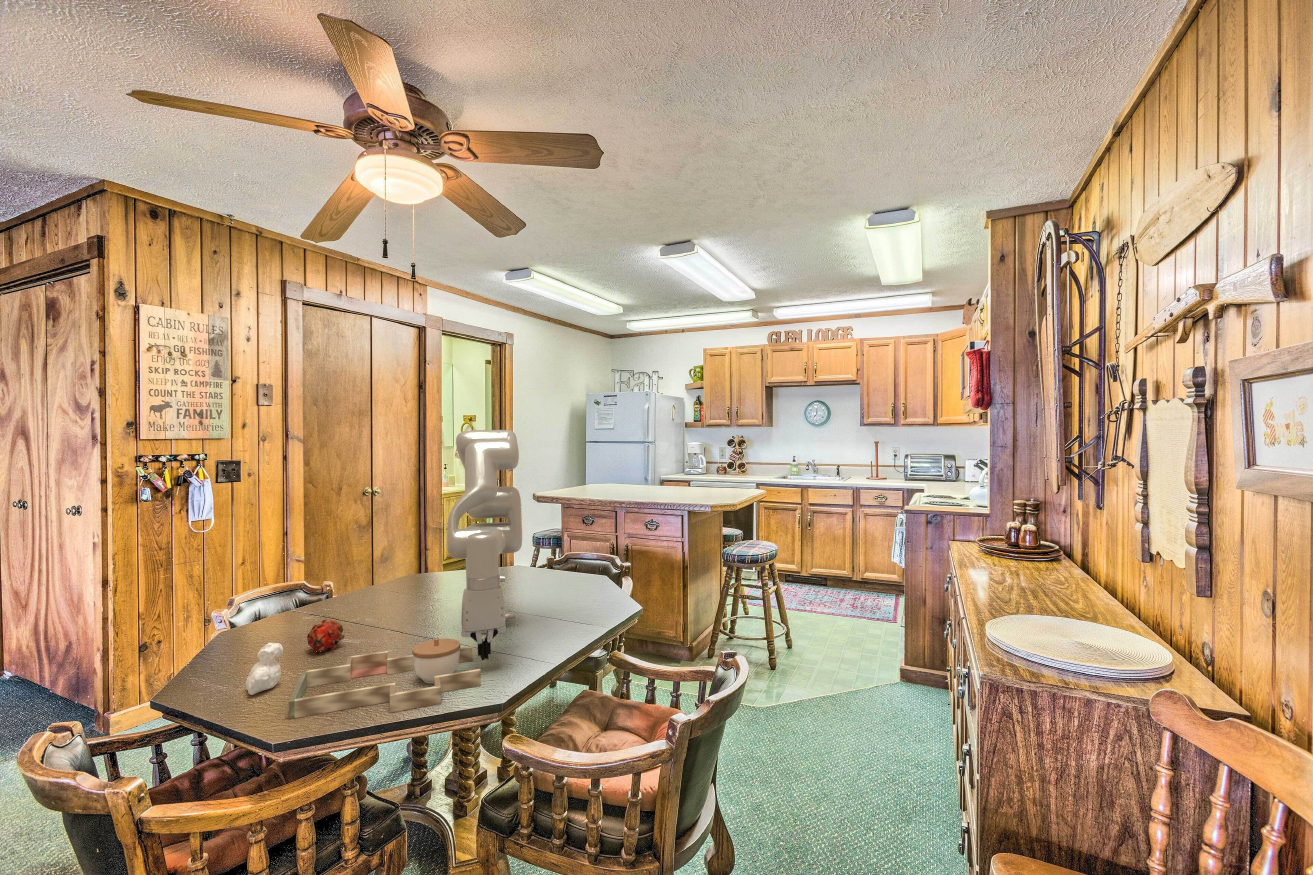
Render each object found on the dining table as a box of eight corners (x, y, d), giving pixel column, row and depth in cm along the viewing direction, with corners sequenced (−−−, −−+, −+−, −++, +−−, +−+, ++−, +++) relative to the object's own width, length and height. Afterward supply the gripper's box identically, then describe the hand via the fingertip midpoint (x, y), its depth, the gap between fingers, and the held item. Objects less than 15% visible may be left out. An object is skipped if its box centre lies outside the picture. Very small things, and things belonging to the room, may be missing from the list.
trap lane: (469, 652, 158) (469, 639, 158) (484, 695, 131) (483, 679, 131) (306, 677, 143) (306, 662, 143) (283, 731, 116) (283, 713, 116)
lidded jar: (432, 691, 134) (431, 649, 134) (403, 681, 139) (402, 642, 139) (470, 674, 143) (469, 635, 143) (441, 666, 148) (440, 629, 148)
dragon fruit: (338, 646, 169) (320, 668, 158) (311, 631, 168) (291, 652, 156) (355, 623, 169) (338, 643, 157) (328, 607, 168) (309, 626, 156)
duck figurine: (260, 707, 132) (295, 662, 135) (227, 692, 130) (264, 646, 132) (270, 687, 143) (302, 646, 146) (240, 672, 140) (273, 631, 143)
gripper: (511, 576, 152) (512, 648, 152) (449, 583, 146) (451, 657, 146) (516, 582, 145) (517, 657, 145) (452, 589, 139) (453, 668, 139)
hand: (484, 657), depth 145 cm, fingers closed
